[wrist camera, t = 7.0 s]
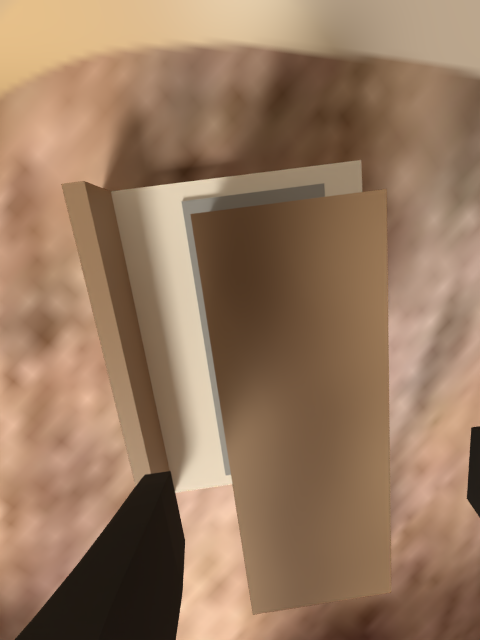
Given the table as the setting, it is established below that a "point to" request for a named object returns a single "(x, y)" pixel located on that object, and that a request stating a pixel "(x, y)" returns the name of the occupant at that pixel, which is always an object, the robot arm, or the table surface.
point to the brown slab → (304, 391)
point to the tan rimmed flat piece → (170, 307)
